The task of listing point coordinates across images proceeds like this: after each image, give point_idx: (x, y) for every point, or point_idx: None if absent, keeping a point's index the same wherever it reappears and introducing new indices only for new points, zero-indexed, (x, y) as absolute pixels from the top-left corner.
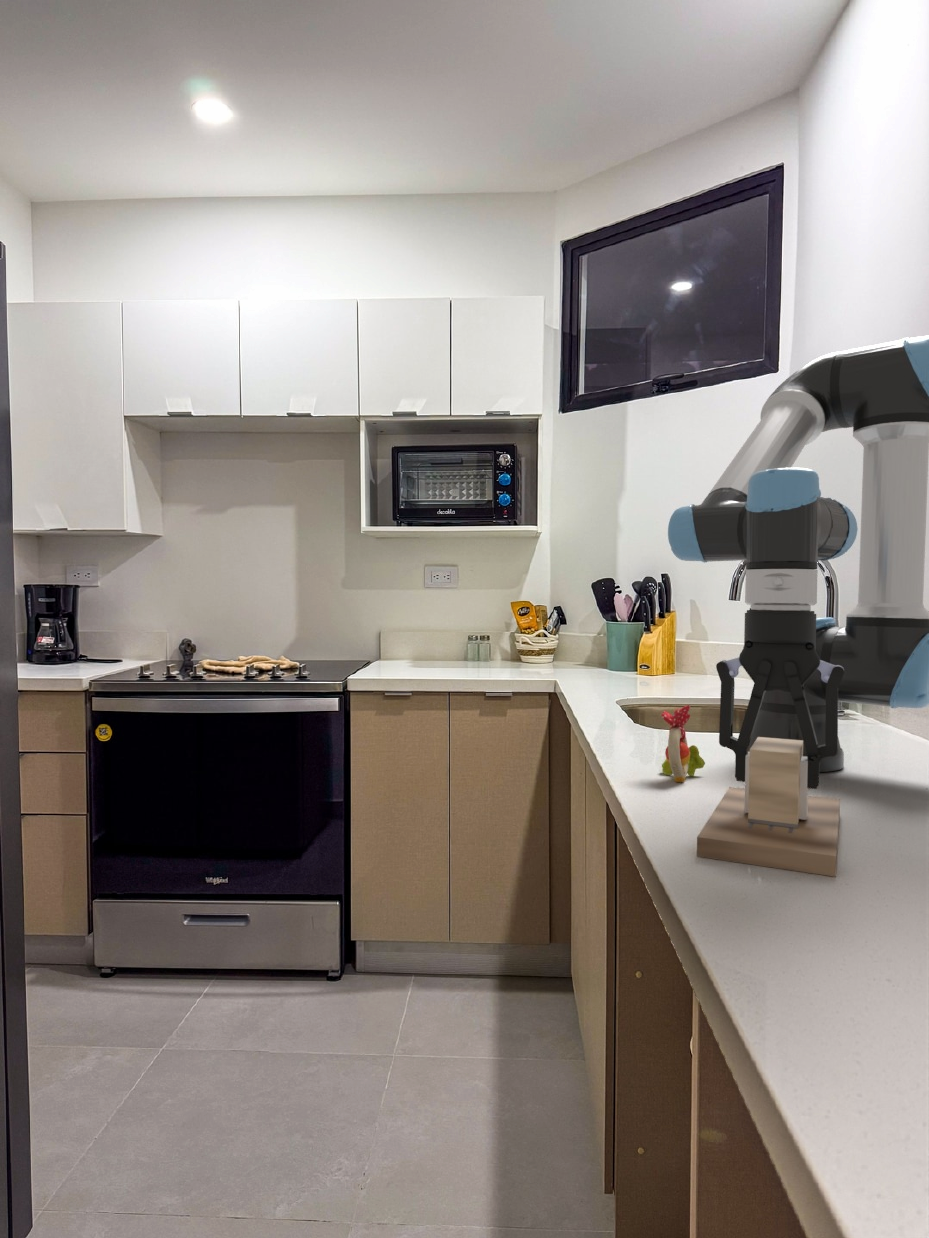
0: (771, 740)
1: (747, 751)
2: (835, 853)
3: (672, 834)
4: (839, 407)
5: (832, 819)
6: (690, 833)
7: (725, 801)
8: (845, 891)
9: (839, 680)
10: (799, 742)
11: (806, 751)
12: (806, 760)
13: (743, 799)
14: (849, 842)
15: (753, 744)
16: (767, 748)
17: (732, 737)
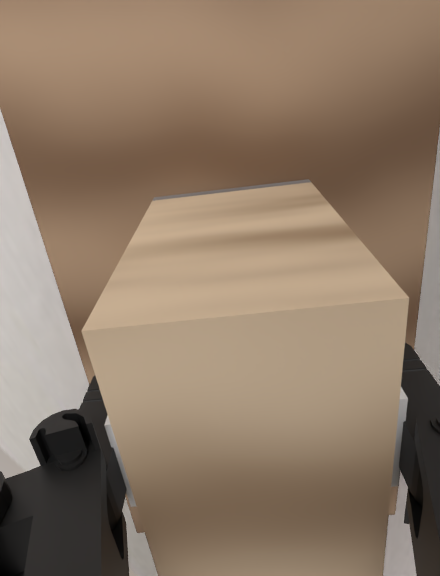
0: (203, 410)
1: (117, 474)
2: (394, 503)
3: (41, 414)
4: None
5: (406, 263)
6: (68, 390)
7: (57, 232)
8: (392, 521)
9: None
10: (380, 384)
11: (410, 523)
12: (394, 476)
13: (96, 165)
14: (428, 263)
15: (151, 546)
16: None
17: (17, 543)
